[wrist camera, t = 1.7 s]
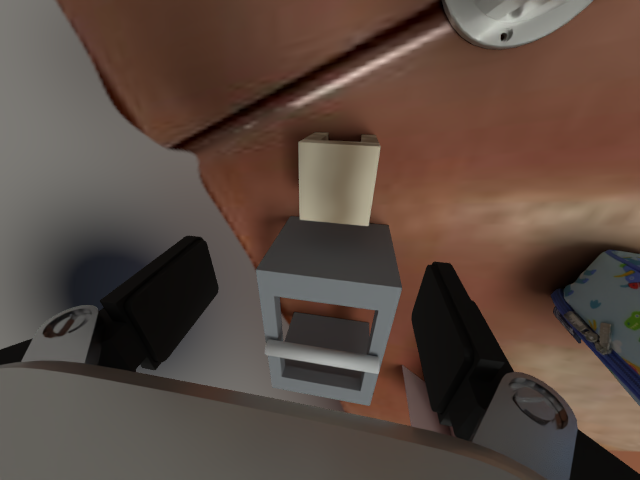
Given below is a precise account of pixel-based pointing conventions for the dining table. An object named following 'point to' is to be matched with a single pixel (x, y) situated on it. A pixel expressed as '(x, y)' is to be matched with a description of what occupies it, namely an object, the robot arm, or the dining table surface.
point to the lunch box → (607, 314)
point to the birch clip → (337, 179)
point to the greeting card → (422, 405)
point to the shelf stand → (332, 288)
